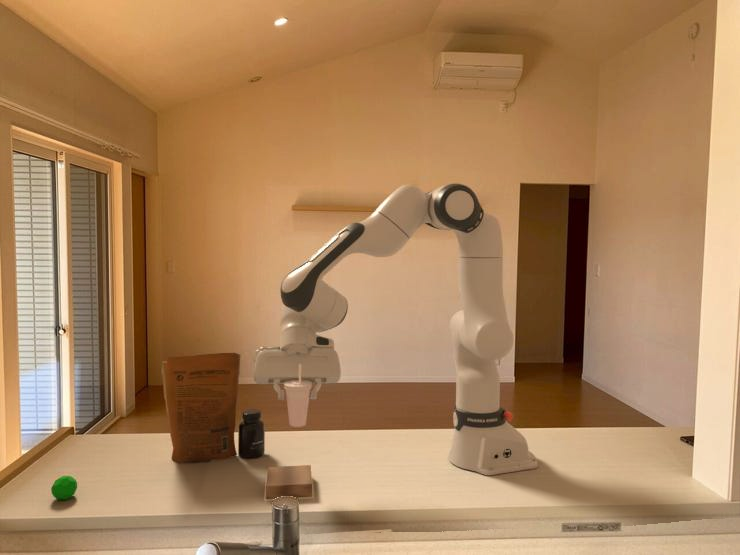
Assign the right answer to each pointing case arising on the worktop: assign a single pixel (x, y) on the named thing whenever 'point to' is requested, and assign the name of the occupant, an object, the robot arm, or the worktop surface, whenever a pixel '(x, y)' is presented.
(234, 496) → the worktop surface
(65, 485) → the polyhedron
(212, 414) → the pancake mix bag
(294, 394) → the smoothie
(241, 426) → the supplement bottle
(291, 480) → the base block
